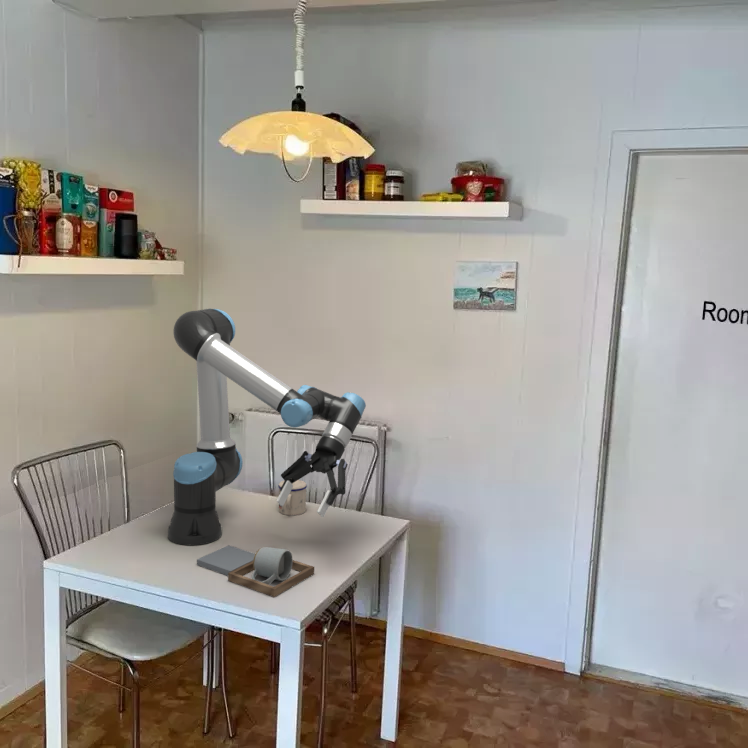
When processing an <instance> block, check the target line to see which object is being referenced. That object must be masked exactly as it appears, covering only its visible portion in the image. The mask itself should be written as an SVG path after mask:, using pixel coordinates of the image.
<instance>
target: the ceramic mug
mask: <svg viewBox="0 0 748 748" xmlns="http://www.w3.org/2000/svg"><path fill="white" fill-rule="evenodd" d="M293 560H294V559H293V554H292V552H291V551H290V550H289V549H285V548H276V547H270V546H269V547H266V546H264V547H260V548H259V549H258V550H256V552H255V556H254V559H253V569H254V570H253V571H252V575H251V579H253V580H256V576H257V575H259V576H262V577H265V578H267V579H266V580H262V581H261V582H262V583H265V584H268V585H271V584H272V583H273V582H274V581H275V580H276V581H281V582H283V581H285V580H287V579H288V577H289V576H290V574H291V572H292V570H293V569H292V563H293Z"/></svg>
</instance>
